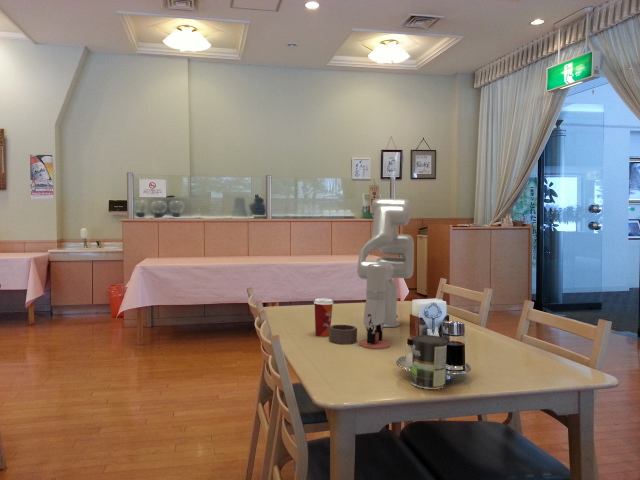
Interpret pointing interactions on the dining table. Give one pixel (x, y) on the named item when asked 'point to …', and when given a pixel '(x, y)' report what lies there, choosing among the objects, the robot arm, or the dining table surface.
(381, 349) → the mat
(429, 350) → the coffee can
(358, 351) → the dining table surface
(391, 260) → the robot arm
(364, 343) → the lid
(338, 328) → the bowl
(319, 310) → the coffee cup
